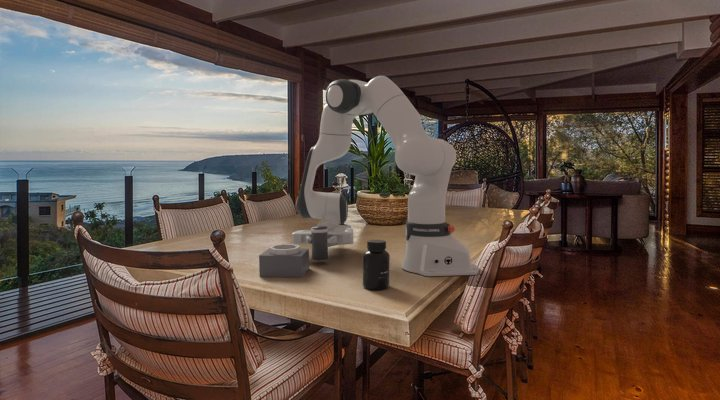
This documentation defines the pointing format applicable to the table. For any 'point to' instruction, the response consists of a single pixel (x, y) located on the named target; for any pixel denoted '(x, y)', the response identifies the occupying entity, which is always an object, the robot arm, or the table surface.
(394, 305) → the table surface
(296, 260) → the camera body block
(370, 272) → the supplement bottle
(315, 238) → the lens
